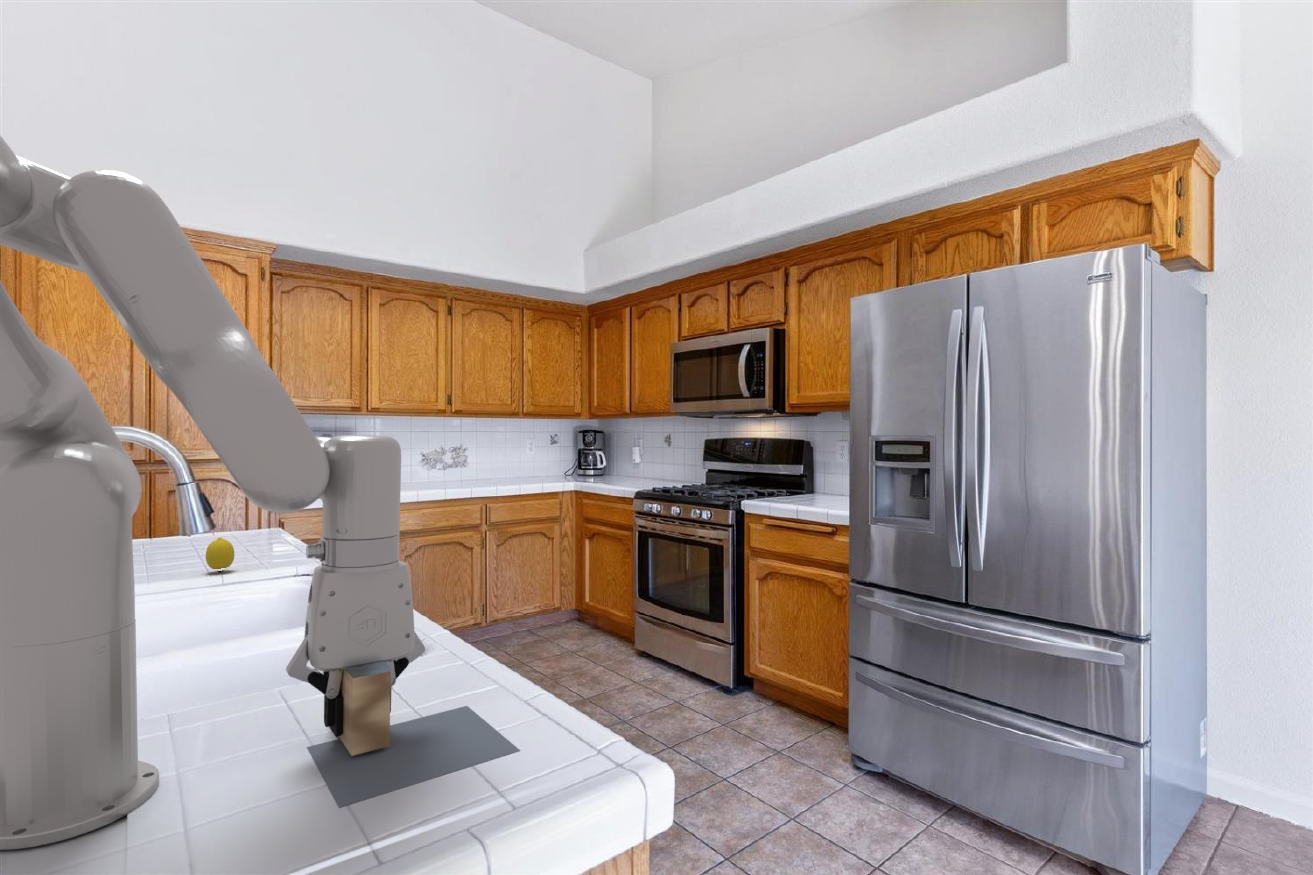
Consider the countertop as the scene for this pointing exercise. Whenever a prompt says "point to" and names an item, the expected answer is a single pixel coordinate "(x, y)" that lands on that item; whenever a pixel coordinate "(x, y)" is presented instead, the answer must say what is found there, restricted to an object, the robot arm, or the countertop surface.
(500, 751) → the mat
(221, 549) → the lemon
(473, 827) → the countertop surface
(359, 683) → the oak slab
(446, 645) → the countertop surface
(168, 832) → the countertop surface
